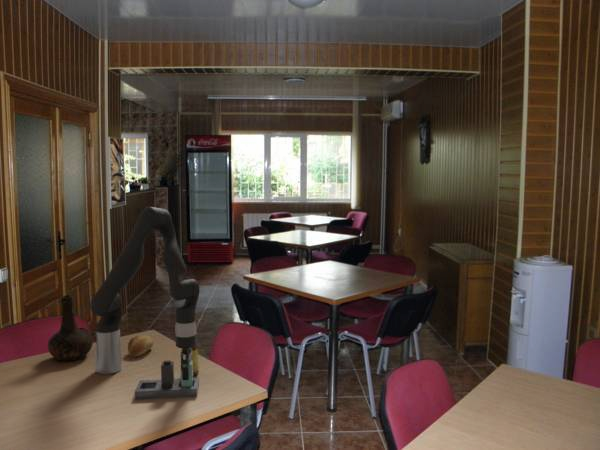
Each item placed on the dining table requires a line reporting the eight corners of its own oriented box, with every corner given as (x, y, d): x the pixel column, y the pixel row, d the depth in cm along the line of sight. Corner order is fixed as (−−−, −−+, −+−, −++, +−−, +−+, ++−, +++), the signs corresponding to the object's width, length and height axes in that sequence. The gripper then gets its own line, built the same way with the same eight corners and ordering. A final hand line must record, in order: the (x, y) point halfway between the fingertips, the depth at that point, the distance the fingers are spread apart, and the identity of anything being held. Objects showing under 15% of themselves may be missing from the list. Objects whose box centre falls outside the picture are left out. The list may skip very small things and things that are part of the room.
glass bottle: (101, 355, 227) (98, 294, 224) (64, 368, 212) (61, 302, 209) (77, 348, 236) (74, 289, 233) (40, 360, 221) (36, 297, 218)
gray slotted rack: (134, 399, 182) (133, 367, 181) (140, 388, 192) (139, 357, 190) (196, 396, 184) (196, 364, 183) (199, 385, 194) (198, 355, 193)
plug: (181, 394, 187) (180, 362, 185) (182, 389, 190) (181, 358, 189) (192, 393, 187) (191, 362, 186) (193, 388, 191) (192, 358, 190)
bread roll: (122, 358, 223) (121, 340, 223) (137, 347, 238) (137, 330, 237) (142, 359, 222) (142, 341, 221) (156, 348, 237) (156, 331, 236)
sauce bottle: (200, 371, 208) (199, 324, 206) (196, 377, 202) (195, 329, 200) (185, 370, 209) (184, 323, 207) (180, 376, 202) (179, 328, 201)
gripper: (194, 338, 180) (195, 382, 182) (197, 327, 194) (198, 367, 196) (173, 339, 179) (174, 383, 181) (177, 327, 193) (178, 368, 195)
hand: (186, 375), depth 188 cm, fingers open, 8 cm apart
